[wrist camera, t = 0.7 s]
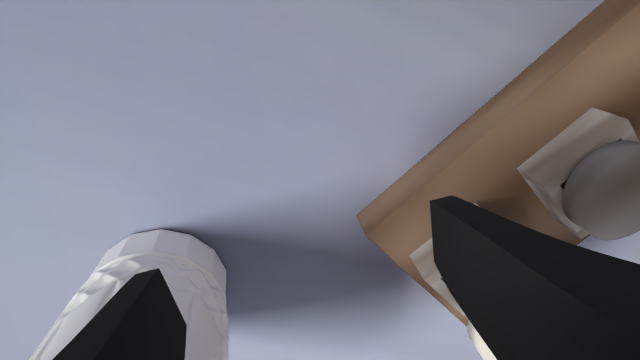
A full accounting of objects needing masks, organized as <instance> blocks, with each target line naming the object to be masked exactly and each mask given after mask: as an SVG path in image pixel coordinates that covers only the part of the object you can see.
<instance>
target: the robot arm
mask: <svg viewBox="0 0 640 360" xmlns="http://www.w3.org/2000/svg"><path fill="white" fill-rule="evenodd" d="M430 213H431V227H432V242H433V256H434V263H435V265H436V267H437V269H438V270H439V272H440V274H441V276H442V278H443V280H444V282H445V284H446V286H447V288H448V289H449V291H450V293H451V295H452V296H453V298H454V299H455V301H456V302H457V303H458V305H459V306H460V308H461V309H462V311H463V312H464V314H465V315H466V316H467V318H468V319H469V321H470V322H471V324H472V325H473V326H474V328H475V329H476V331H477V332H478V333H479V335H480V336H481V338H482V339H483V341H484V342H485V343H486V345H487V346H488V348H489V349H490V350H491V352H492V353H493V355H494V356H495V358H496V359H497V360H640V264H637V263H633V262H629V261H626V260H622V259H619V258H615V257H612V256H609V255H605V254H602V253H599V252H595V251H592V250H589V249H586V248H583V247H579V246H576V245H573V244H571V243H568V242H565V241H562V240H560V239H557V238H554V237H551V236H549V235H546V234H543V233H541V232H538V231H536V230H533V229H531V228H528V227H526V226H523V225H521V224H518V223H516V222H514V221H511V220H509V219H506V218H504V217H502V216H500V215H497V214H495V213H493V212H490V211H488V210H486V209H484V208H481V207H479V206H477V205H475V204H472V203H470V202H468V201H465V200H463V199H460V198H458V197H455V196H452V195H451V196H447V197H443V198H439V199H435V200H430ZM186 331H187V324H186V322H185V320H184V318H183V316H182V314H181V312H180V310H179V308H178V306H177V304H176V302H175V300H174V298H173V296H172V294H171V291H170V289H169V287H168V285H167V283H166V281H165V279H164V277H163V275H162V273H161V271H160V269H159V268H157V269H153V270H149V271H145V272H141V273H137V274H135V275H134V276H133V277H132V278H131V279H129V280H128V281H127V282H126V283H125V284H124V285H123V286H122V287H121V288H120V289H119V291H118V292H117V293H116V294H115V295H114V296H113V297H112V298H111V299H110V300H109V301H108V302H107V303H106V304H105V305H104V306H103V308H102V309H101V310H100V311H99V312H98V313H97V314H96V315H95V316H94V317H93V318H92V319H91V320H90V321H89V322H88V323H87V325H86V326H85V327H84V328H83V329H82V330H81V331H80V332H79V333H78V334H77V335H76V336H75V337H74V338H73V339H72V340H71V341H70V342H69V343H68V344H67V345H66V346H65V347H64V348H63V349H62V350H61V351H60V352H59V353H58V354H57V355H56V356H55V357H54V358H53V359H52V360H185V349H186Z"/></svg>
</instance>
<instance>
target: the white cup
mask: <svg viewBox="0 0 640 360" xmlns="http://www.w3.org/2000/svg"><path fill="white" fill-rule="evenodd" d="M157 268H159V269H160V271H161V273H162V275H163V277H164V279H165V281H166V283H167V285H168V287H169V289H170V291H171V294H172V296H173V298H174V300H175V302H176V304H177V306H178V308H179V310H180V312H181V314H182V316H183V318H184V320H185V322H186V324H187V331H186V349H185V360H228V357H229V329H228V317H229V315H228V312H227V308H226V269H225V267H224V265H223V264H222V262H221V260H220V259H219V257H218V255H217V254H216V252H215V250H214V249H212V248H211V247H209V246H208V245H206V244H205V243H203V242H201V241H200V240H198V239H197V238H195V237H194V236H192V235H190V234H185V233H179V232H174V231H169V230H164V229H159V230H153V231H147V232H141V233H136V234H131V235H129V236H128V237H126V238H125V239H123V240H122V241H120V242H119V243H117V244H116V245H114V246H113V247H111V248H110V249H108V250H107V252H106V253H105V255H104V256H103V258H102V259H101V261H100V262H99V264H98V265H97V267H96V268H95V270H94V272H93V273H92V275H91V276H90V278H89V279H88V280H87V281H86V282H85V283H84V285H83V286H82V287H81V288H80V289H79V290H78V291H77V292H76V294H75V295H74V296H73V298H72V299H71V301H70V302H69V303H68V305H67V306H66V308H65V309H64V311H63V312H62V314H61V315H60V316H59V317H58V318H57V319H56V321H55V322H54V324H53V325H52V327H51V328H50V329H49V331H48V332H47V334H46V335H45V337H44V338H43V340H42V341H41V343H40V344H39V346H38V347H37V348H36V350H35V351H34V353H33V354H32V356H31V357H30V359H29V360H52V359H53V358H54V357H55V356H56V355H57V354H58V353H59V352H60V351H61V350H62V349H63V348H64V347H65V346H66V345H67V344H68V343H69V342H70V341H71V340H72V339H73V338H74V337H75V336H76V335H77V334H78V333H79V332H80V331H81V330H82V329H83V328H84V327H85V326H86V325H87V323H88V322H89V321H90V320H91V319H92V318H93V317H94V316H95V315H96V314H97V313H98V312H99V311H100V310H101V309H102V308H103V306H104V305H105V304H106V303H107V302H108V301H109V300H110V299H111V298H112V297H113V296H114V295H115V294H116V293H117V292H118V291H119V289H120V288H121V287H122V286H123V285H124V284H125V283H126V282H127V281H128V280H129V279H131V278H132V277H133V276H134V275H135V274H137V273H141V272H145V271H149V270H153V269H157Z"/></svg>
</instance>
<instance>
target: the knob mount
mask: <svg viewBox="0 0 640 360" xmlns="http://www.w3.org/2000/svg"><path fill="white" fill-rule="evenodd" d="M451 195H452V196H455V197H458V198H460V199H463V200H465V201H468V202H470V203H472V204H475V205H477V206H479V207H481V208H484V209H486V210H488V211H490V212H493V213H495V214H497V215H500V216H502V217H504V218H506V219H509V220H511V221H514V222H516V223H518V224H521V225H523V226H526V227H528V228H531V229H533V230H536V231H538V232H541V233H543V234H546V235H549V236H551V237H554V238H557V239H560V240H562V241H565V242H568V243H571V244H573V245H577V244H579V243H580V242H581V241H583V240H584V239H585V238H587V237H588V236H589V235H591V236H593V237H595V238H598V239H602V240H615V239H620V238H624V237H626V236H629V235H631V234H634V233H635V232H637V231H639V230H640V0H605V1H604V2H603V3H602V4H600V5H599V6H598V7H597V8H596V9H595V10H593V11H592V12H591V13H590V14H589V15H588V16H587V17H585V18H584V19H583V20H582V21H581V22H580V23H578V24H577V25H576V26H575V27H574V28H573V29H572V30H570V31H569V32H568V33H567V34H566V35H565V36H563V37H562V38H561V39H560V40H559V41H558V42H557V43H555V44H554V45H553V46H552V47H551V48H550V49H548V50H547V51H546V52H545V53H544V54H543V55H542V56H540V57H539V58H538V59H537V60H536V61H535V62H533V63H532V64H531V65H530V66H529V67H528V68H527V69H525V70H524V71H523V72H522V73H521V74H520V75H518V76H517V77H516V78H515V79H514V80H513V81H512V82H510V83H509V84H508V85H507V86H506V87H505V88H503V89H502V90H501V91H500V92H499V93H498V94H497V95H495V96H494V97H493V98H492V99H491V100H490V101H488V102H487V103H486V104H485V105H484V106H483V107H481V108H480V109H479V110H478V111H477V112H476V113H475V114H473V115H472V116H471V117H470V118H469V119H468V120H466V121H465V122H464V123H463V124H462V125H461V126H460V127H458V128H457V129H456V130H455V131H454V132H453V133H451V134H450V135H449V136H448V137H447V138H446V139H445V140H443V141H442V142H441V143H440V144H439V145H438V146H436V147H435V148H434V149H433V150H432V151H431V152H430V153H428V154H427V155H426V156H425V157H424V158H423V159H421V160H420V161H419V162H418V163H417V164H416V165H415V166H413V167H412V168H411V169H410V170H409V171H408V172H406V173H405V174H404V175H403V176H402V177H401V178H400V179H398V180H397V181H396V182H395V183H394V184H393V185H391V186H390V187H389V188H388V189H387V190H386V191H385V192H383V193H382V194H381V195H380V196H379V197H378V198H376V199H375V200H374V201H373V202H372V203H371V204H370V205H368V206H367V207H366V208H365V209H364V210H363V211H361V212H360V213H359V214H358V215H357V218H358V220H359V223H360V225H361V227H362V229H363V231H364V233H365V236H366V237H368V238H369V239H370V240H371V241H372V242H373V243H374V244H375V245H376V246H378V247H379V248H380V249H381V250H382V251H383V252H384V253H385V254H387V255H388V256H389V257H390V258H391V259H392V260H393V261H394V262H395V263H397V264H398V265H399V266H400V267H401V268H402V269H403V270H404V271H406V272H407V273H408V274H409V275H410V276H411V277H412V278H413V279H414V280H416V281H417V282H418V283H419V284H420V285H421V286H422V287H423V288H425V289H426V290H427V291H428V292H429V293H430V294H431V295H432V296H433V297H435V298H436V299H437V300H438V301H439V302H440V303H441V304H442V305H444V306H445V307H446V308H447V309H448V310H449V311H450V312H451V313H452V314H454V315H455V316H456V317H457V318H458V319H459V320H460V321H461V322H463V323H464V324H465V325H466V326H468V320H469V319H468V318H467V316H466V315H465V314H464V312H463V311H462V309H461V308H460V306H459V305H458V303H457V302H456V301H455V299H454V298H453V296H452V295H451V293H450V291H449V289H448V288H447V286H446V284H445V282H444V280H443V278H442V276H441V274H440V272H439V270H438V269H437V267H436V265H435V263H434V256H433V242H432V227H431V213H430V200H435V199H439V198H443V197H447V196H451Z"/></svg>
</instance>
